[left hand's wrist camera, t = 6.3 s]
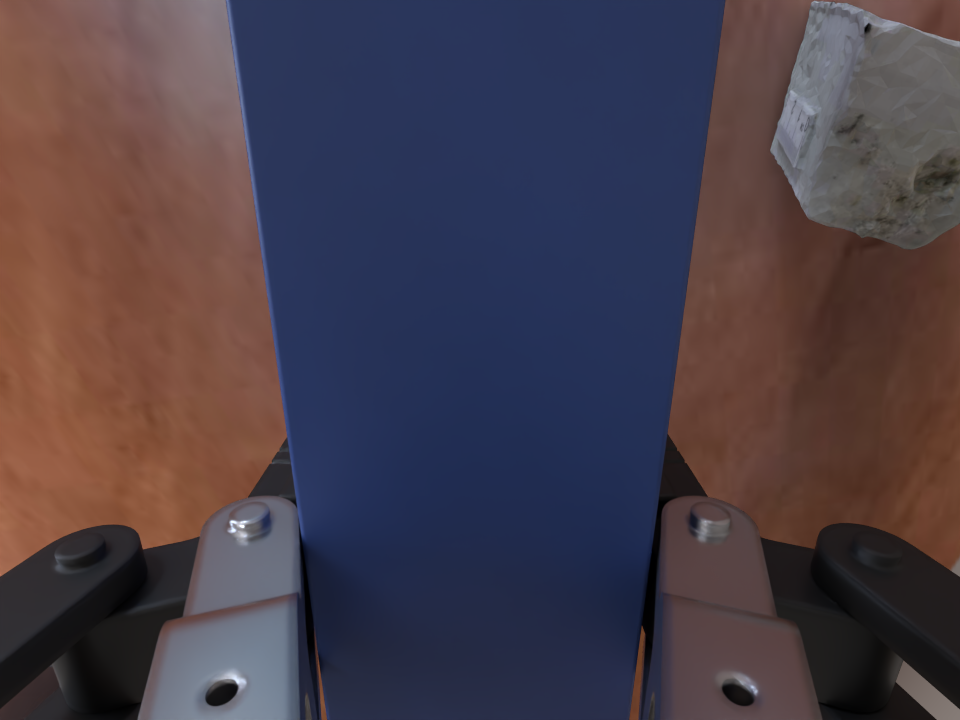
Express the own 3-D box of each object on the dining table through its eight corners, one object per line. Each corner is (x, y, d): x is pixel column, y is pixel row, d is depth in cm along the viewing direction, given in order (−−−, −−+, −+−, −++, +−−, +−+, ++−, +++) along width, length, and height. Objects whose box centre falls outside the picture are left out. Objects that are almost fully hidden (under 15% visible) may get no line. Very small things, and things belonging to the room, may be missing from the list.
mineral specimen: (722, -23, 19) (958, -123, 12) (918, 38, 21) (1220, -15, 14) (662, 202, 21) (826, 236, 14) (844, 235, 24) (1067, 278, 16)
